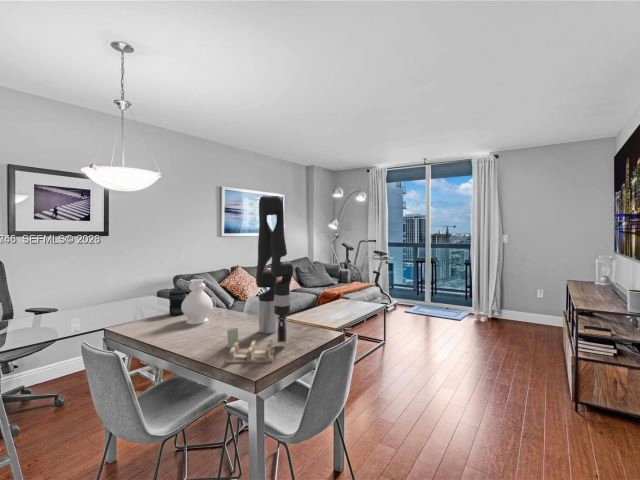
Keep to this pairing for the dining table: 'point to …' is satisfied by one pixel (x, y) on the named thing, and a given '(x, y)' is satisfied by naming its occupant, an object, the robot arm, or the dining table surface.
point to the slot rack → (251, 353)
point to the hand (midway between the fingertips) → (282, 338)
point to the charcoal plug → (284, 335)
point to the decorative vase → (197, 303)
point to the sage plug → (232, 336)
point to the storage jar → (176, 302)
